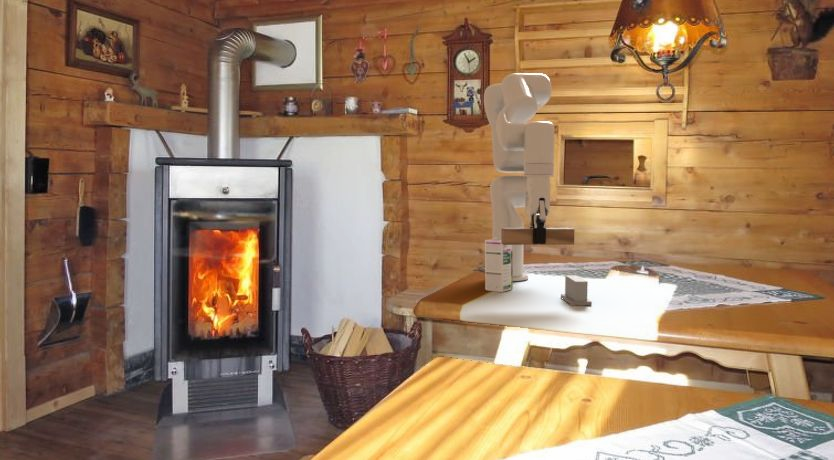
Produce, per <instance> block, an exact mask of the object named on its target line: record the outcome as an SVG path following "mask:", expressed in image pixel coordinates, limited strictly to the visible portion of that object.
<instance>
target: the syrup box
mask: <svg viewBox="0 0 834 460" xmlns="http://www.w3.org/2000/svg"><path fill="white" fill-rule="evenodd" d="M484 276H485V277H484V278H485V279H484V284H485V285H484V286H485V287H484V289H485V290H486V291H489V292H495V293H504V292H507V291H512V290H513V288H514V287H513V285H514V283H513V282H514V281H513V266H512V245H503V244H502V243H501V238H494V239H492V238H489V239H485V240H484Z"/></svg>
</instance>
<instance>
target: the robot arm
mask: <svg viewBox="0 0 834 460" xmlns="http://www.w3.org/2000/svg"><path fill="white" fill-rule="evenodd" d="M552 89H553V87H552V82H551V81H550V78H549V76H547V74H543V73H536V72H535V73H528V72H527V73H525V72H524V73H521V72H517V73H511V74H508V75H506V76H505V77H504V78H503V79H502V80H501V82H500V83H499V82H498V83H494V84H491V85H488V86H487V87H486V88H485V90H484V93H483V106H484V111H485V115H486V119H487V121H488V123H489V126H490V129H491V130H490V131H491V141H492V142H491V143H492V144H491V146H492V160H493V166H494V167H493V168H494V169H495V170H496V171H497V172H499V173H504V174H505V173H506V174H509V173H510V174H523V175H502V176H498V177H495V178H494V179H493V180H492V181H491V183H490V185H489V196H490V202H491V209H492V210H491V212H492V213H491V214H492V217H491V218H492V236H491V237H492V238H491V239H494V238H501V237H502V228H525V224H524V220H523V218H522V216H521V215H520V213H519V212H518V210H517V208H524V213H525V214H526V215H527V216H530V220H529V221H530V226H529V228H533V244H545V243H546V228H547V221H546V220H547V216H549V215H550V212H551V211H550V210H551V178H552V177H553V178H554V175H555V125H554V124H553V122H550V121H530V120H531V119H533V118H534V117H535V115H536V114H537V111H539V110H540V109H542V108H543V107H544V106H545V105H546V104H547V103H549V101H550V100H551V95H552ZM550 177H551V178H550ZM512 266H513V282H521V281H527V280H528V279H529V275H528V274H527V273H524V245H512Z"/></svg>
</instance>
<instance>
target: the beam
mask: <svg viewBox="0 0 834 460" xmlns="http://www.w3.org/2000/svg"><path fill="white" fill-rule="evenodd" d="M501 243H502V244H503V245H523V246H524V245H525V246H528V245H529V246H533V245H534V246H536V245H537V246H539V245H540V246H541V245H542V246H543V245H544V246H546V245H547V246H549V245H550V246H554V245H555V246H560V245H561V246H568V245H569V246H570V245H572V246H573V245H574V246H575V228H573V227H546V243H545V244H533V228H530V227H524V228H502V237H501Z"/></svg>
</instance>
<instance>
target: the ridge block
mask: <svg viewBox="0 0 834 460" xmlns="http://www.w3.org/2000/svg"><path fill="white" fill-rule="evenodd" d="M564 280H565V282H564V284H565V285H564V287H565V288H564V293H561V294H560V298H561V299H562V298H563V299H564V300H566V301H567V302H568V304H569V303H570V304H571V305H592V303H593V301H591V300H590V299H588V286H589V285H588V282H589V281H588V280H586V279H585V278H582V277H581V276H579V275H571V274H570V275H569V274H568V275H565V278H564ZM563 299H562V300H563ZM564 300H563V301H564ZM566 301H565V302H566ZM567 302H566V303H567ZM570 304H569V305H570ZM571 305H570V306H571Z"/></svg>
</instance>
